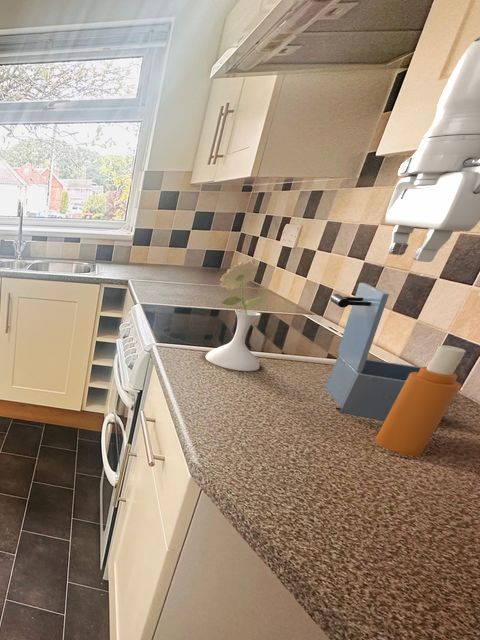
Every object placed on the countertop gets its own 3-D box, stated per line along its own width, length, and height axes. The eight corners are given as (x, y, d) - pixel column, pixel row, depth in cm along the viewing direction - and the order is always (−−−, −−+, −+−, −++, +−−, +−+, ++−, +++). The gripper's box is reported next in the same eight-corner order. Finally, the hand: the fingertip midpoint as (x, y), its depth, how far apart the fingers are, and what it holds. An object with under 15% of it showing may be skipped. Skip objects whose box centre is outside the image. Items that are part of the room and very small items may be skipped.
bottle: (409, 446, 71) (467, 346, 63) (425, 463, 66) (489, 357, 58) (368, 437, 73) (418, 339, 65) (380, 453, 68) (436, 350, 61)
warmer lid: (364, 282, 80) (329, 281, 82) (389, 293, 70) (348, 292, 72) (342, 353, 85) (309, 350, 87) (362, 372, 76) (324, 368, 78)
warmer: (403, 407, 84) (425, 367, 80) (432, 434, 75) (458, 390, 71) (321, 393, 89) (338, 354, 86) (338, 416, 80) (358, 374, 76)
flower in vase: (247, 362, 105) (282, 260, 94) (265, 380, 95) (306, 267, 84) (191, 356, 107) (219, 256, 97) (202, 372, 97) (235, 263, 87)
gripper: (533, 154, 52) (471, 268, 58) (445, 166, 69) (404, 253, 75) (465, 154, 54) (412, 263, 60) (396, 165, 71) (360, 249, 77)
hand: (407, 257), depth 67 cm, fingers open, 8 cm apart
